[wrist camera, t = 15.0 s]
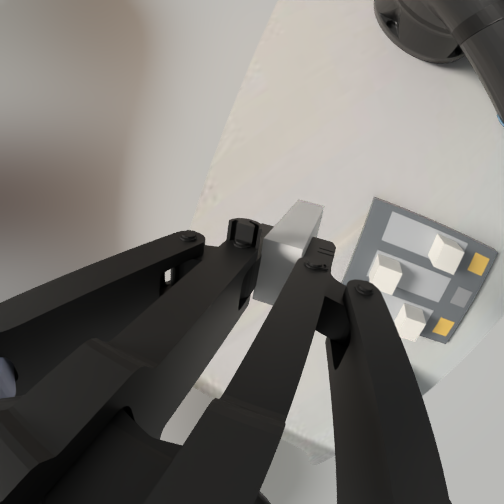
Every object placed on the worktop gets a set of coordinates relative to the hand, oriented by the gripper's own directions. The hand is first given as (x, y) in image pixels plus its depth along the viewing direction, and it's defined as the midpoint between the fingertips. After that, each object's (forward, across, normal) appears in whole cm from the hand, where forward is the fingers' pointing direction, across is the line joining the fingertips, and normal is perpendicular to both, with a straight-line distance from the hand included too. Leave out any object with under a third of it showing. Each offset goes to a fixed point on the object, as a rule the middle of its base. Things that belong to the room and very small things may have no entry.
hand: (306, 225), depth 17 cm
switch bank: (+26, +16, -12) cm, 33 cm away
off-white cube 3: (+24, +17, -18) cm, 35 cm away
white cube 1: (+24, +18, -6) cm, 31 cm away
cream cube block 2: (+24, +10, -11) cm, 29 cm away
